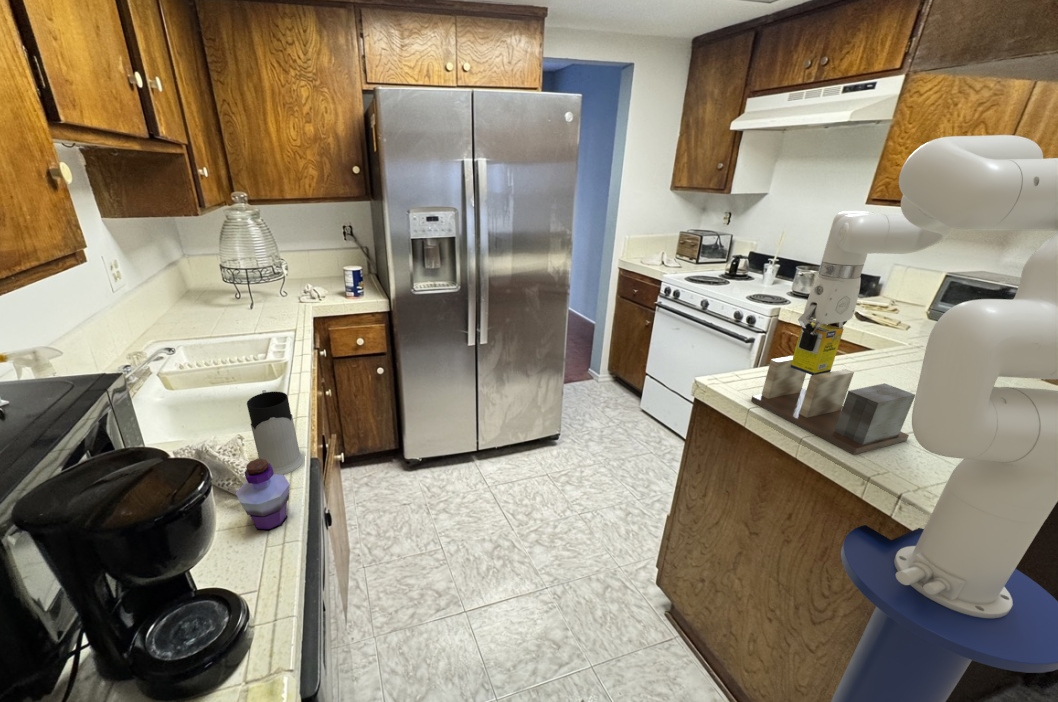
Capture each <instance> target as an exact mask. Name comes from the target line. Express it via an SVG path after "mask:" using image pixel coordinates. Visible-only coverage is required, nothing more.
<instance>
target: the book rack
mask: <svg viewBox="0 0 1058 702" xmlns="http://www.w3.org/2000/svg"><path fill="white" fill-rule="evenodd" d="M792 359H793V355H789V356H783V357H778V358H771V359H770V362H769V366H768V369H767V373H766V377H765V381H764V385H763V388H762V392H761V394H757V395H752V396H751V399H750V402H752V403H753V404H755V405H757V406H760V407H761V408H762V409H765V410H767V411H768V412H771V413H772V414H775V415H777V416H778V417H780V418H782V419H784V420H787V421H788V422H790V423H792V424H794V425H796V426H798V427H799V428H801V429H803V430H806V431H807V432H809V433H811V434H813V435H815V436H817V437H819V438H821V439H823V440H825V441H826V442H829V443H831V444H832V445H834V446H837V447H838V448H839V449H842V450H844V451H845V452H848V453H850V454H852V455H858V454H861V453H865V452H866V453H867V452H869V451H872V450H876V449H877V450H878V449H881V448H884V447H888V446H893V445H896V444H901V443H903V442H907V441H908V439H909V434H908V433H905V432H903V431H902V429H903V426H904V424H905V421H906V418H907V417H908V414H909V412H910V409H911V407H912V405H913V403H914V401H915V396H916V393H912V392H909V391H906V390H904V389H901V388H898V387H896V386H893V385H890V384H888V383H880V384H875V385H870V386H866V387H861V388H856V389H850V390H849V388H850V385H851V382H852V380H853V377H854V373H855V372H854V371H852V370H849V369H847V368H844V369H839V370H833V371H830V372H828V373H822V374H817V375H810V377H809V380H808V383H807V387H806V389H805V388H803V385H804V383H805V379H806V375H807V373H805V372H802V371H799V370H796V369H794V368H791V363H792Z"/></svg>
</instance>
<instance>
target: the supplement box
mask: <svg viewBox="0 0 1058 702" xmlns="http://www.w3.org/2000/svg"><path fill="white" fill-rule="evenodd" d="M811 325H812V327H814V326H815V323H811ZM799 330H800V331H799V334H798V337H797V341H796V344H795V349H794V352H793V355H792V356H793V359H792V363H791V368H794V369H796V370H799V371H802V372H805V373H806V375H810V376H812V375H817V374H822V373H828V372H832V368H833V365H834V362H835V359H836V356H837V353H838V348H839V346H840V342H841V340H842V336H843V333H844V328H843V329H842V328H838V327H835V326H831V325H828V324H822V325H821V326H820V328H819V330H818V331H817V333H816V335H818V336H817V340H816V343H815V346H814V350H813V351H807V350H805V349H802V348H799V344H800V340H801V337H802V334H803V332H802V328H801V327H800V329H799Z"/></svg>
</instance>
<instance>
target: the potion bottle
mask: <svg viewBox="0 0 1058 702" xmlns="http://www.w3.org/2000/svg"><path fill="white" fill-rule="evenodd" d="M245 468H246V470H245V471H244V472H243V473H244V478H245V479H246V481H245V482H244V483H243V484H242V485H241V486H240V487H239V488H238V490H237V491H236V492H235V495H236V497H237V499H238V501H239V503H240V505H241V506H242V508H243V510H244V511H245V513H246V515H248V516H249V517H250V518H251V521H252V522H253V525H254V528H255V529H256V531H262V532H263V531H264V532H270V531H273V530H275V529H277V528H280V527H281V526H283V524H284V523H285V522H286V520H287V519H288V515H287V512H288V511H287V509H288V502H289V500H290V489H291V487H290V486H291V483H290V482H289V481H288V479H287V477H286V476H285V474H283V475H277V474H274V472H273V468H272V466H271V465H270V463H268V462H267V461H266V460H264V459H259V458H256V459H253V460H251V461H249V462H248V463H247V464H246V466H245Z"/></svg>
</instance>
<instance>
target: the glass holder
mask: <svg viewBox="0 0 1058 702" xmlns="http://www.w3.org/2000/svg"><path fill="white" fill-rule="evenodd" d="M261 392H262V393H259V394H256V395H254V396H252V397H251V398H249V399H248V400H247V401H246V407H247V410H248V415H249V419H250V428H251V432H252V435H253V440H254V443H255V448H256V452H257V456H258V459H264V460H266V461H267V462H268V463H270V465H271V466H272V468H273V472H274V474H277V475H286V474H289V473H291V472H293V471H296V470H297V469H298V468H299V467H300V466H302V465H303V463H304V457H303V455H302V454H301V452H300V447H299V443H298V437H297V431H296V427H295V423H294V418H293V414H292V412H291V407H290V402H289V397H288V394H287V393H285V392H283V391H277V390H276V391H267V390H266V389H262V391H261Z"/></svg>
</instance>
